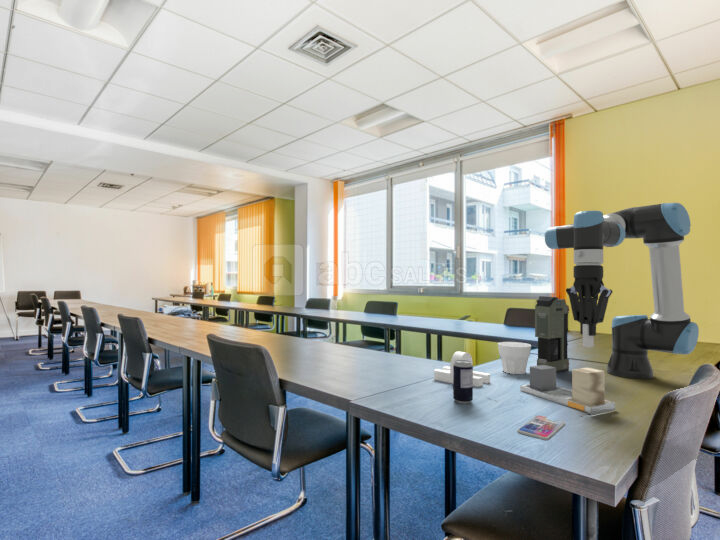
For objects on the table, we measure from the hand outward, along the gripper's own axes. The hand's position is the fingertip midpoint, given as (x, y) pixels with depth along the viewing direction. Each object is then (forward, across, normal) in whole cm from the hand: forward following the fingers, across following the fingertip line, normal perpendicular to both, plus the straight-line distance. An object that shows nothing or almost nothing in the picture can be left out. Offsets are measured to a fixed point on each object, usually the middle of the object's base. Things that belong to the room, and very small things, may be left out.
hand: (588, 346), depth 117 cm
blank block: (+17, -16, 0) cm, 23 cm away
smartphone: (+18, +5, -25) cm, 31 cm away
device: (+18, -37, +30) cm, 51 cm away
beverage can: (+18, -20, -29) cm, 39 cm away
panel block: (+17, 0, 0) cm, 17 cm away
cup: (+18, -42, +15) cm, 48 cm away
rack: (+18, -8, 0) cm, 19 cm away
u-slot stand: (+18, -39, -14) cm, 45 cm away
